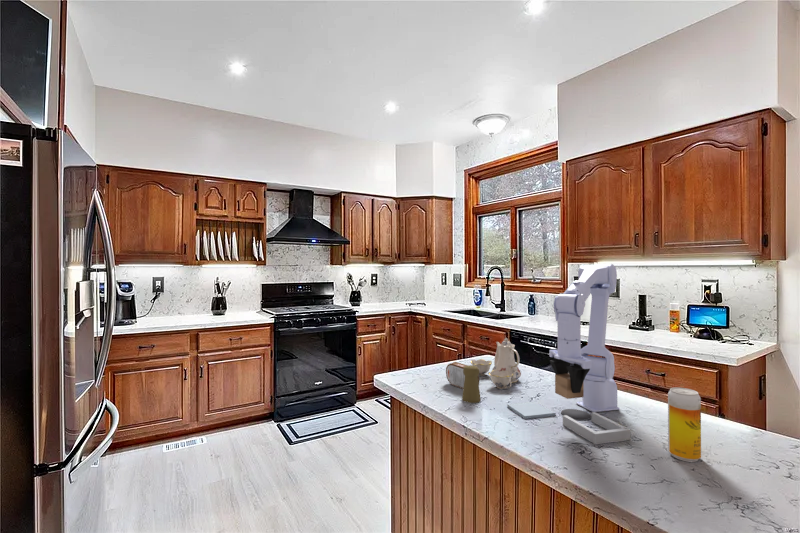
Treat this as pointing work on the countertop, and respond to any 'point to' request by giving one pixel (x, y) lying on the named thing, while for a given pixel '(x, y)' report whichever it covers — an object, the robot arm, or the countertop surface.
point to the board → (531, 410)
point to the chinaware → (501, 365)
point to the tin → (456, 374)
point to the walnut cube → (566, 387)
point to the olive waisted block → (471, 385)
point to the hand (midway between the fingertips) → (569, 389)
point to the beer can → (684, 424)
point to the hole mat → (576, 414)
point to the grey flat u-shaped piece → (610, 435)
